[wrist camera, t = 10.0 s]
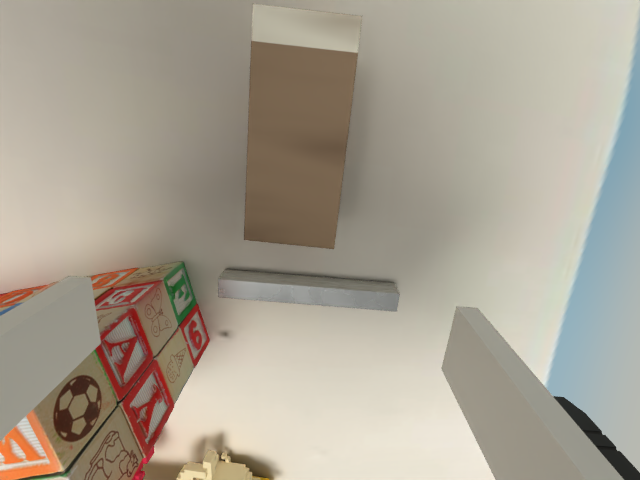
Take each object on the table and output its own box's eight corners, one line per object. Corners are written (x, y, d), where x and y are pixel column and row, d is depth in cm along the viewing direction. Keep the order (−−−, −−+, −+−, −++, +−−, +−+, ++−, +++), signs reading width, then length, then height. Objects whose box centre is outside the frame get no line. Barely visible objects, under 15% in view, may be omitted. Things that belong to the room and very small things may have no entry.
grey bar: (225, 269, 22) (218, 279, 20) (394, 282, 22) (399, 293, 20) (225, 285, 22) (218, 297, 20) (391, 299, 22) (396, 311, 21)
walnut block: (266, 211, 20) (275, 46, 18) (331, 217, 20) (350, 55, 18) (244, 240, 15) (252, 3, 12) (334, 249, 15) (362, 15, 12)
